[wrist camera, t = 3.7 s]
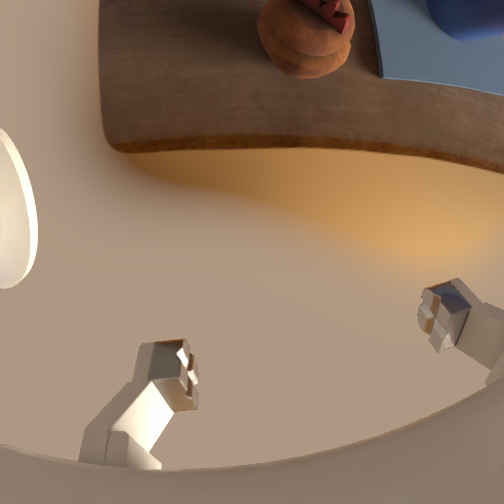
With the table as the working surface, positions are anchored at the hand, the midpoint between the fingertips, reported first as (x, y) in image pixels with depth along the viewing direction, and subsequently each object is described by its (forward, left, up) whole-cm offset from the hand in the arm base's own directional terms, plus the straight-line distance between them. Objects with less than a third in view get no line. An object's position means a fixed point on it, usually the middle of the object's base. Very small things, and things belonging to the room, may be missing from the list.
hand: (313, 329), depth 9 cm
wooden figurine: (+2, +12, -19) cm, 23 cm away
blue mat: (+17, +16, -19) cm, 30 cm away
